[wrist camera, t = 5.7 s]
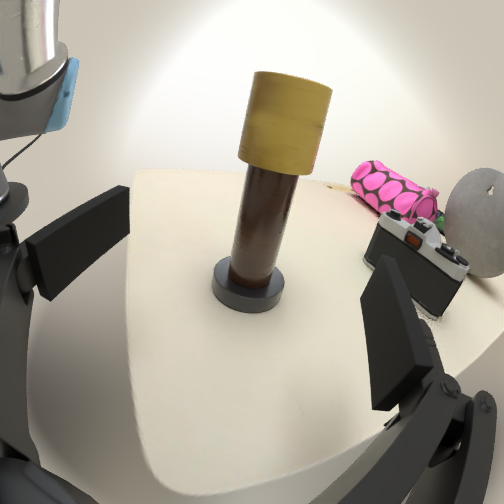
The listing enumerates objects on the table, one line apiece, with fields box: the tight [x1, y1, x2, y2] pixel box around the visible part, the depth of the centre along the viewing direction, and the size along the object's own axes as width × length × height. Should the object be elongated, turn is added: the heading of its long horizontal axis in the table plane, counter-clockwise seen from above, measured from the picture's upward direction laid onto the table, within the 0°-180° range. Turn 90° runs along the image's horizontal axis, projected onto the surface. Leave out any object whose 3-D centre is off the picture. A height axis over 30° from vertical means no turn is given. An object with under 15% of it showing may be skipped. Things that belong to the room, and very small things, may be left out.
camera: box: [363, 208, 469, 320], centre depth 28 cm, size 13×8×9 cm, turn 33°
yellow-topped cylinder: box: [212, 71, 332, 313], centre depth 20 cm, size 6×6×17 cm
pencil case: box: [351, 161, 443, 225], centre depth 49 cm, size 21×10×10 cm, turn 16°
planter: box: [444, 168, 504, 278], centre depth 33 cm, size 18×7×19 cm, turn 14°
